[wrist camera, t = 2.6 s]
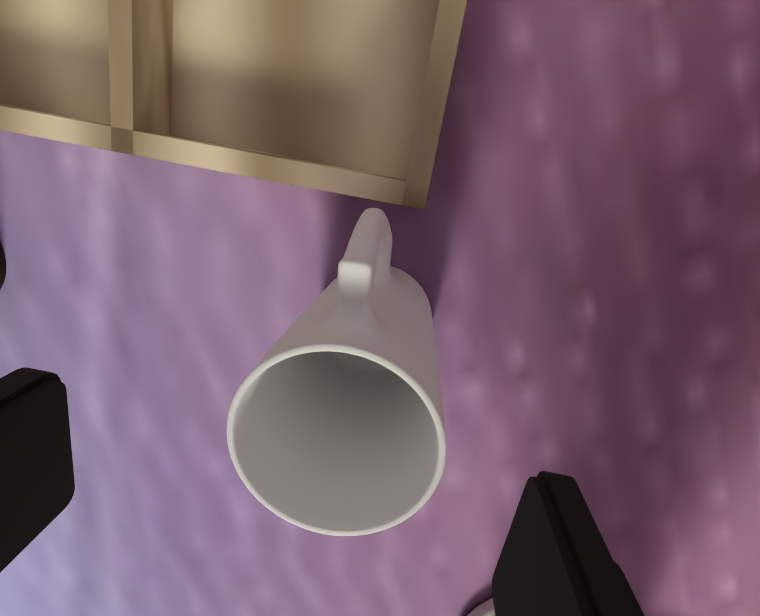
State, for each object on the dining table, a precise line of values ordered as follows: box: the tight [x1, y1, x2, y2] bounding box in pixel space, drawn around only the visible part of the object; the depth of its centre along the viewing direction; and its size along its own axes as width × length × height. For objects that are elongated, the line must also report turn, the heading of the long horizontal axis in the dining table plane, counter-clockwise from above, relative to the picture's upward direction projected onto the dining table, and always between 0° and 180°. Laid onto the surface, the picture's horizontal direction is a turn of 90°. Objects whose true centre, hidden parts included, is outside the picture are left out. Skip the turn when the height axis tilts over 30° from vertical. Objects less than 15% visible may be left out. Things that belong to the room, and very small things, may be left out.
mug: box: [227, 208, 446, 536], centre depth 18 cm, size 10×7×12 cm, turn 174°
